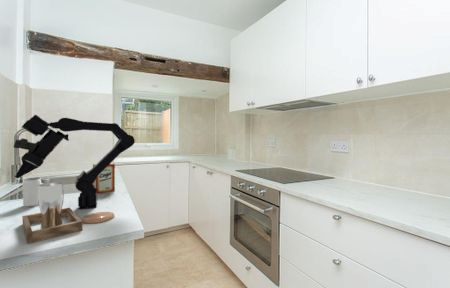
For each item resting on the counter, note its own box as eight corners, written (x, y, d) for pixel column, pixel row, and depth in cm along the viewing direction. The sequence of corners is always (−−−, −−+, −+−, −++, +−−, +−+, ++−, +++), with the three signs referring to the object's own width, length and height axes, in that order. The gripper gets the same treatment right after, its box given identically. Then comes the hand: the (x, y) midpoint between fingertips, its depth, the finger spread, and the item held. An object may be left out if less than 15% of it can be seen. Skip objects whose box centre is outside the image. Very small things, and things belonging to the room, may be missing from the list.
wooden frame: (69, 214, 90) (69, 207, 90) (82, 229, 76) (82, 221, 76) (22, 224, 80) (22, 216, 80) (27, 243, 66) (27, 233, 66)
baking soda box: (96, 193, 122) (95, 164, 122) (93, 191, 127) (92, 163, 126) (114, 191, 129) (114, 163, 128) (111, 189, 134) (110, 162, 133)
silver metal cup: (68, 223, 81) (68, 182, 81) (54, 231, 74) (54, 186, 74) (49, 223, 81) (48, 182, 81) (33, 231, 74) (32, 186, 74)
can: (20, 205, 101) (19, 179, 100) (37, 201, 106) (37, 176, 106) (27, 207, 98) (26, 180, 97) (44, 204, 103) (44, 178, 103)
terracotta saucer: (114, 211, 94) (114, 210, 94) (114, 220, 84) (114, 219, 84) (83, 215, 89) (83, 214, 89) (79, 225, 79) (79, 223, 79)
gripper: (29, 131, 95) (-2, 161, 90) (24, 130, 80) (-13, 167, 75) (55, 146, 100) (28, 176, 95) (56, 148, 86) (23, 184, 80)
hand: (17, 175), depth 86 cm, fingers open, 9 cm apart
